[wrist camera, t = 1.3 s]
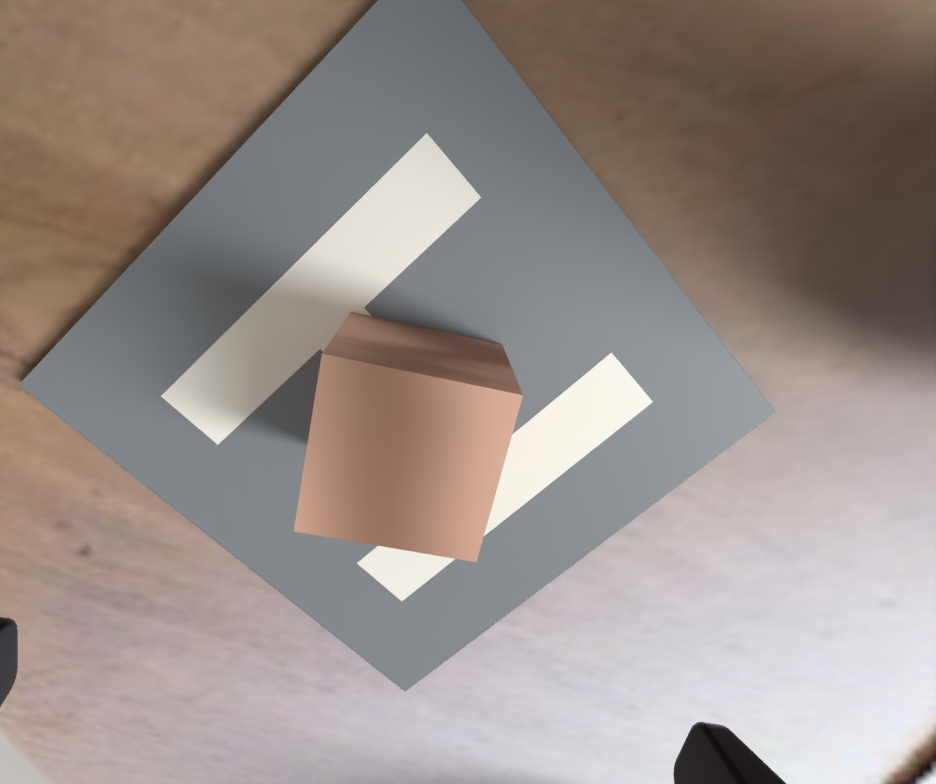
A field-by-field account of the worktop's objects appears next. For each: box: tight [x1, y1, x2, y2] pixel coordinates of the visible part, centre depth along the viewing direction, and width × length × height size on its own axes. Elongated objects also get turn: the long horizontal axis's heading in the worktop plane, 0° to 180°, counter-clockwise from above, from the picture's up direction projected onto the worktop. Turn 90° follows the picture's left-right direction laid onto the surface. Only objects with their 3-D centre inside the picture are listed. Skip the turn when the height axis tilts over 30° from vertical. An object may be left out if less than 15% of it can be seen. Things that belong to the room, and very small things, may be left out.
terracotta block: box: [294, 312, 523, 562], centre depth 17 cm, size 5×5×5 cm
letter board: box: [19, 0, 776, 691], centre depth 20 cm, size 18×18×1 cm
